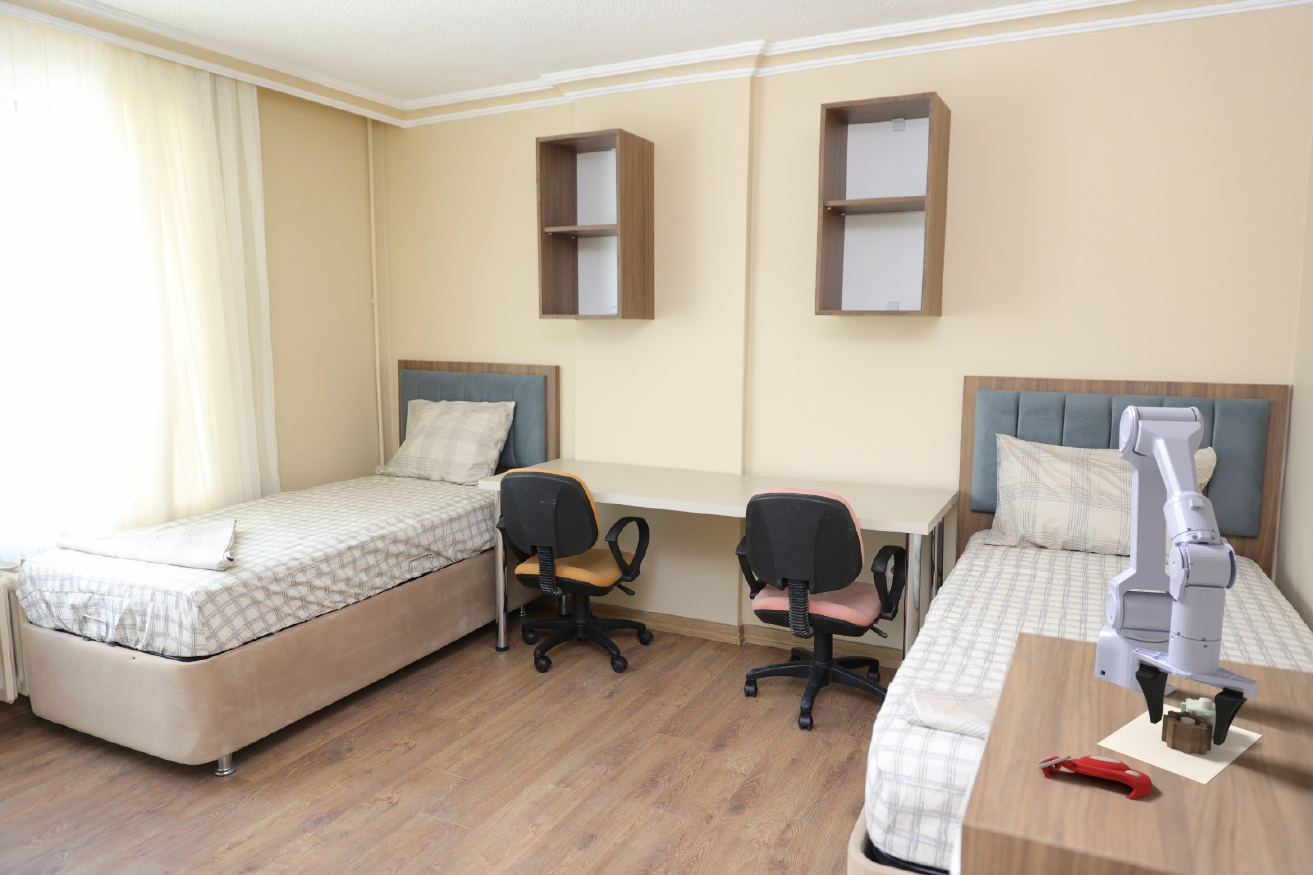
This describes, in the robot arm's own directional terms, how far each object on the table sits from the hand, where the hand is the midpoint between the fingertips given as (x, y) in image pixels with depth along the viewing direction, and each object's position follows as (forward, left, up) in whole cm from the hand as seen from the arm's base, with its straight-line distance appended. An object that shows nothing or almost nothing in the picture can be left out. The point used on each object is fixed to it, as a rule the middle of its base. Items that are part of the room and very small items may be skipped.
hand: (1186, 731), depth 116 cm
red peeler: (-4, -17, -3) cm, 18 cm away
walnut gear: (0, 0, -2) cm, 2 cm away
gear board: (-1, +1, -3) cm, 3 cm away
